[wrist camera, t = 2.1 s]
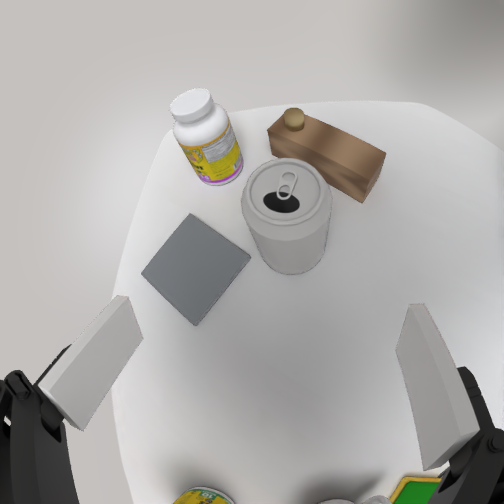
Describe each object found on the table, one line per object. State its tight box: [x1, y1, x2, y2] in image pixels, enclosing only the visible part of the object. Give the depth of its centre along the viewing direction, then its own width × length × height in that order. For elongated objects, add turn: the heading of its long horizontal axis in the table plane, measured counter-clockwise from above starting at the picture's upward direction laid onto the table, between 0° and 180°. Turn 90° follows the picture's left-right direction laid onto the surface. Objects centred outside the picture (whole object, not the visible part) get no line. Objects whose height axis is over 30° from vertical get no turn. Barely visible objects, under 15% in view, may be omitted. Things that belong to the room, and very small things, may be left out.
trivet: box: [141, 214, 251, 326], centre depth 32 cm, size 10×10×1 cm
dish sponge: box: [389, 477, 442, 504], centre depth 15 cm, size 7×14×2 cm, turn 68°
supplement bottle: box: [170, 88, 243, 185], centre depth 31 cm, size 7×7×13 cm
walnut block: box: [267, 108, 386, 203], centre depth 31 cm, size 14×5×7 cm, turn 51°
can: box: [241, 158, 332, 275], centre depth 26 cm, size 8×8×12 cm
